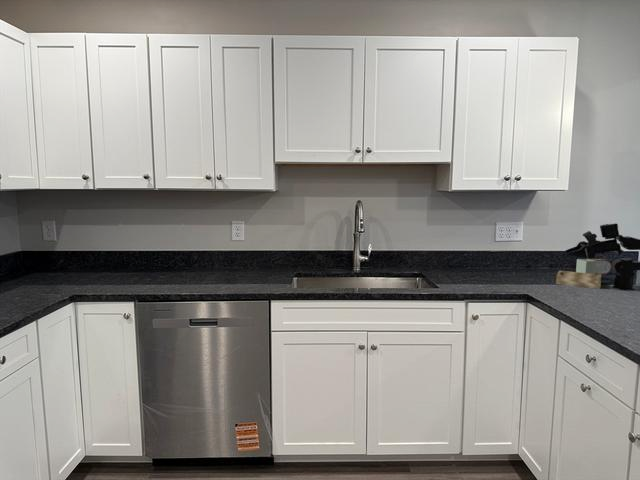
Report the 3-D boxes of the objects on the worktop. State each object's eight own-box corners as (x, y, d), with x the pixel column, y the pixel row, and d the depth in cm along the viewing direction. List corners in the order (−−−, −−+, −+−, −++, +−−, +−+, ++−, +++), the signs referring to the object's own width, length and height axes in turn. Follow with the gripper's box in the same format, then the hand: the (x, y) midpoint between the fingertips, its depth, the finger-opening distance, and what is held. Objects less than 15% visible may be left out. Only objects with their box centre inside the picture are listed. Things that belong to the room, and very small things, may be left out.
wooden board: (600, 283, 204) (601, 274, 204) (600, 288, 193) (600, 279, 192) (558, 279, 214) (559, 270, 214) (556, 284, 203) (556, 275, 202)
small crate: (594, 279, 213) (596, 260, 211) (584, 280, 211) (586, 261, 210) (585, 277, 218) (586, 258, 217) (575, 278, 217) (576, 259, 216)
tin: (608, 273, 229) (610, 258, 228) (612, 274, 226) (613, 259, 225) (580, 273, 230) (581, 258, 229) (583, 274, 227) (584, 259, 226)
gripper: (596, 228, 203) (560, 234, 210) (604, 232, 186) (565, 238, 193) (601, 250, 203) (565, 256, 210) (610, 256, 186) (570, 261, 193)
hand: (566, 252), depth 201 cm, fingers open, 9 cm apart
